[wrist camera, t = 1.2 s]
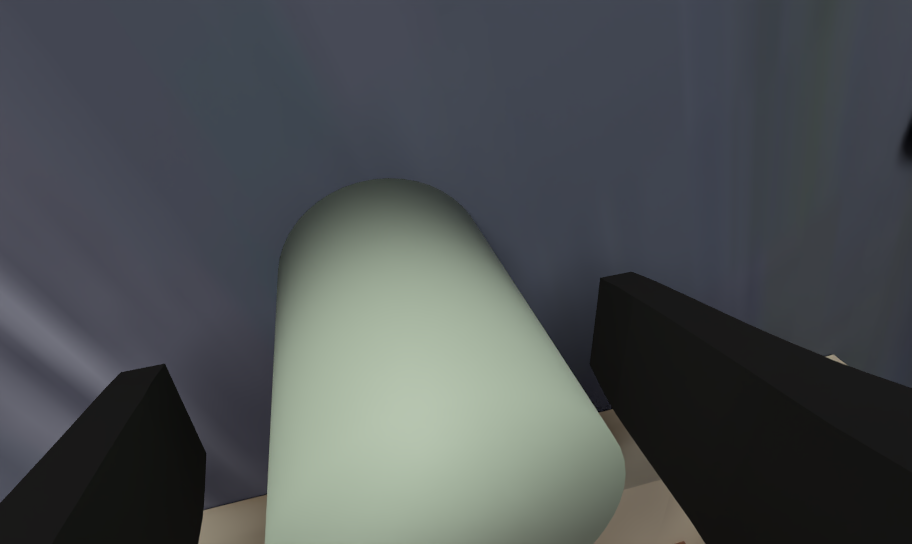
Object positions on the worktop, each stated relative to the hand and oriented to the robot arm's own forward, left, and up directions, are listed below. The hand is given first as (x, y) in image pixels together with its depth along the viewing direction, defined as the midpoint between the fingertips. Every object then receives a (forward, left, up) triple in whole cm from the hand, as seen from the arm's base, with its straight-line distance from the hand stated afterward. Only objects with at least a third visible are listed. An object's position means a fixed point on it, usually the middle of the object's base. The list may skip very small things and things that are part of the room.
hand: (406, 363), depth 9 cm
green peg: (0, 0, -3) cm, 3 cm away
